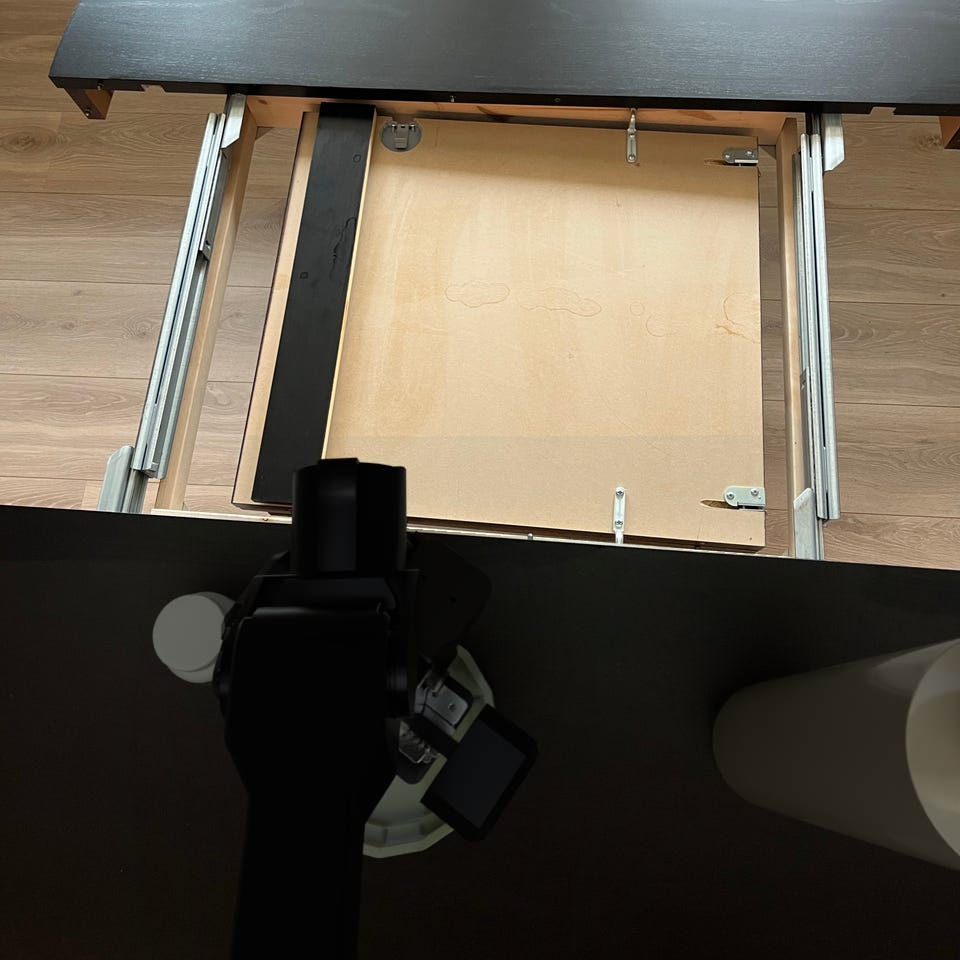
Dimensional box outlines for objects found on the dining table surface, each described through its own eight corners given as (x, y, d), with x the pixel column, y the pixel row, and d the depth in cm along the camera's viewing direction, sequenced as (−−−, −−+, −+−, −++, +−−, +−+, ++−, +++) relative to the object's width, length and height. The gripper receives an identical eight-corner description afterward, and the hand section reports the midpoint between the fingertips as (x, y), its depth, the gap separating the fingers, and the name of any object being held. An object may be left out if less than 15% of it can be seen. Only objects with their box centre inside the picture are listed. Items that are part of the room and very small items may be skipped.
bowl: (472, 872, 69) (468, 882, 65) (267, 817, 71) (248, 823, 66) (518, 651, 74) (517, 646, 70) (325, 605, 76) (311, 597, 71)
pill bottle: (183, 682, 75) (133, 675, 65) (199, 599, 77) (153, 581, 67) (262, 691, 74) (223, 685, 65) (276, 607, 76) (241, 590, 67)
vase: (825, 823, 69) (1295, 968, 27) (703, 793, 70) (968, 886, 28) (838, 697, 72) (1284, 644, 29) (721, 670, 73) (986, 580, 30)
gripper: (603, 662, 53) (588, 676, 67) (315, 449, 57) (359, 506, 72) (471, 864, 50) (485, 833, 64) (178, 622, 54) (253, 645, 69)
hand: (395, 693), depth 67 cm, fingers closed on stick, 2 cm apart
